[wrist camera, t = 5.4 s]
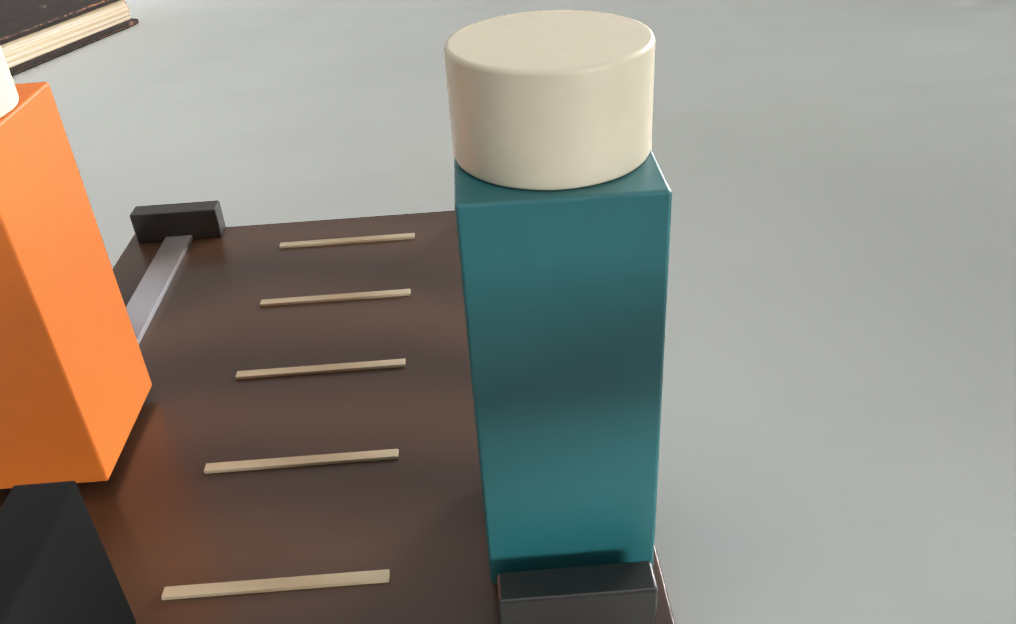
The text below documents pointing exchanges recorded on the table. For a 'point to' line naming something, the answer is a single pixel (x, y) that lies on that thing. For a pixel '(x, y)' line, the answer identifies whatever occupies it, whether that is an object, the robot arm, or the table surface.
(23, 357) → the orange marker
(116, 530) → the board
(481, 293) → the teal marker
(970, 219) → the table surface
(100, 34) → the hardcover book
